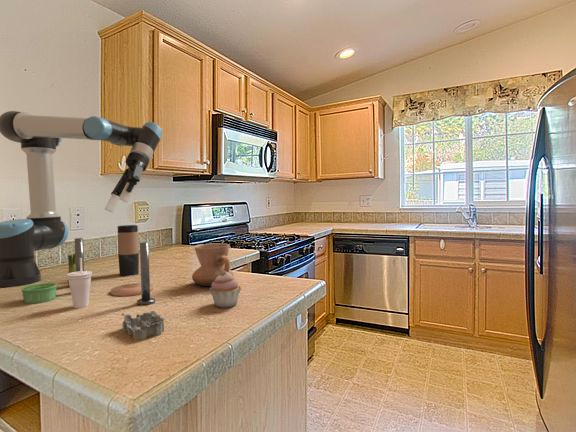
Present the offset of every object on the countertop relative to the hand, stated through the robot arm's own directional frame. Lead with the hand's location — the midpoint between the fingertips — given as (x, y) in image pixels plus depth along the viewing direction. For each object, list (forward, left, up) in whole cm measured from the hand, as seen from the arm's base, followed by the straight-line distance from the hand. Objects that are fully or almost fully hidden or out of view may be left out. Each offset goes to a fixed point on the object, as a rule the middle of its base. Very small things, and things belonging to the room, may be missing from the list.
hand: (115, 205), depth 119 cm
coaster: (+7, 0, -29) cm, 30 cm away
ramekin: (-11, -19, -29) cm, 36 cm away
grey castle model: (+39, -24, -29) cm, 55 cm away
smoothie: (+7, -18, -29) cm, 35 cm away
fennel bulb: (-18, -3, -29) cm, 34 cm away
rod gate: (+7, -8, -29) cm, 31 cm away
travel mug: (-16, +18, -29) cm, 37 cm away
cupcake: (+45, 0, -29) cm, 54 cm away
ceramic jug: (+27, +18, -29) cm, 44 cm away
